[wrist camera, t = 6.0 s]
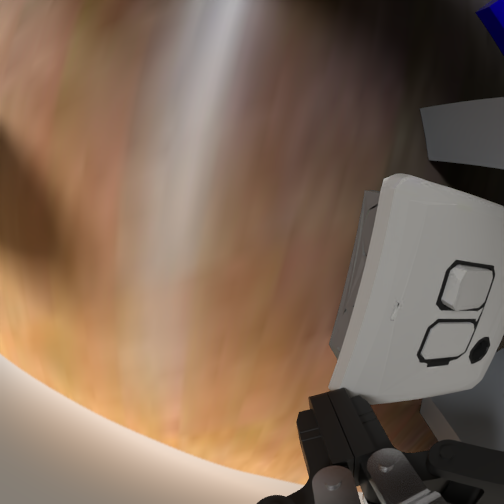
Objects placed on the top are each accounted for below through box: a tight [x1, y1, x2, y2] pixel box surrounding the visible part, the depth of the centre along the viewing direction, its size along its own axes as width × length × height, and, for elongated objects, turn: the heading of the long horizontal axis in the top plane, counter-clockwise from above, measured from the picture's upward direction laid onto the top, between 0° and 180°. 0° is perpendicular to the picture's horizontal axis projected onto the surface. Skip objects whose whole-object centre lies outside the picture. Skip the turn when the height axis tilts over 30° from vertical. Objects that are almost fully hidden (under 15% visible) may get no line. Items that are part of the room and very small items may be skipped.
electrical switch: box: [328, 174, 504, 405], centre depth 12 cm, size 9×5×9 cm
